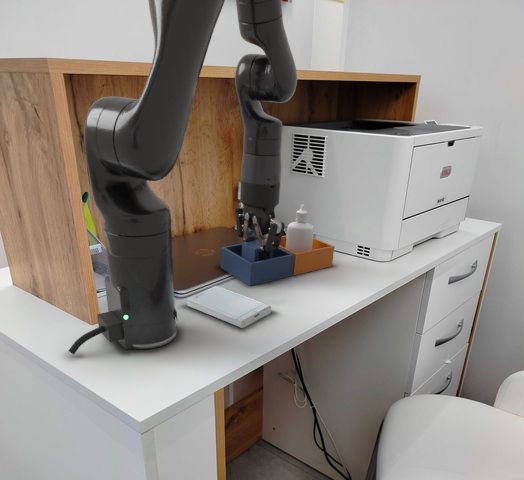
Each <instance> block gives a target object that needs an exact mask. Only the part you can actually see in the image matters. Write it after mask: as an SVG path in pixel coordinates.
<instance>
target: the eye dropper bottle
mask: <svg viewBox="0 0 524 480" xmlns="http://www.w3.org/2000/svg"><path fill="white" fill-rule="evenodd" d="M305 207H306V206H305V204H300V208H299V209H298V210H296V211H295V221H292V222H290V223H289V224H288V225H287V228H286V235H287V237H286V249H288V250H290V251H292V252H294V253H300V252H305V251H310V250H312V244H313V237H314V234H315V233H314V232H315V228H314V226H313V224H311V223H309V222H308V217H309V212H308V211H307V210H306V208H305Z"/></svg>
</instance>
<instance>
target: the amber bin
mask: <svg viewBox="0 0 524 480" xmlns="http://www.w3.org/2000/svg"><path fill="white" fill-rule="evenodd" d="M286 237H287V234H285V235H282V238H281V242H280V245H279V248H281V249H283V250H285V251H287V252H289V253H292V254H294V265H293V276H297V275H301V274H304V273H311V272H314V271H318V270H322V269H327V268H330V267H332V266H333V261H334V253H335V245H332V244H330V243H328V242H325V241H323V240H321V239H318V238H316V237H314V236H313V244H312V250H310V251H305V252H300V253H294V252H292V251H290V250H288V249H286ZM264 240H265V241H267V239H264ZM273 244H274V242H273Z"/></svg>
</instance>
